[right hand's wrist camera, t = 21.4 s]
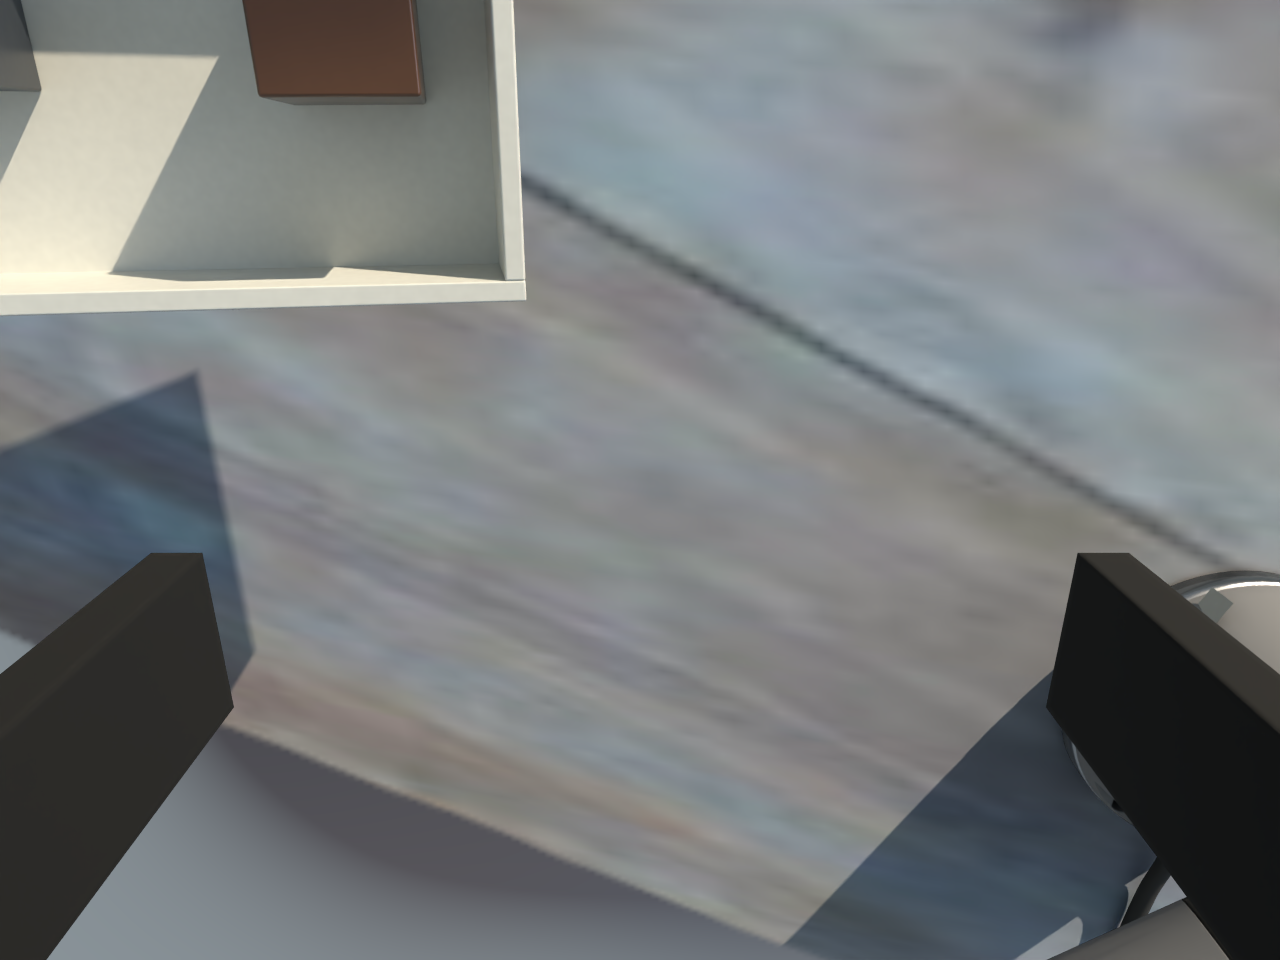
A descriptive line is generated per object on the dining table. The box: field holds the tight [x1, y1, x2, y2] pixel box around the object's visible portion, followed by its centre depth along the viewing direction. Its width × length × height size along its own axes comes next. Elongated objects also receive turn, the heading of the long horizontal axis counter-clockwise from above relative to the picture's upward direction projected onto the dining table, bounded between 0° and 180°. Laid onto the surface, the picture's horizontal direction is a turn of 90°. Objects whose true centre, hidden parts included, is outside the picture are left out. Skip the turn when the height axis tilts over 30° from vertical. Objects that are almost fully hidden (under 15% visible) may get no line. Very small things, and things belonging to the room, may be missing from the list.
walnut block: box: [242, 0, 426, 105], centre depth 23 cm, size 4×4×5 cm
